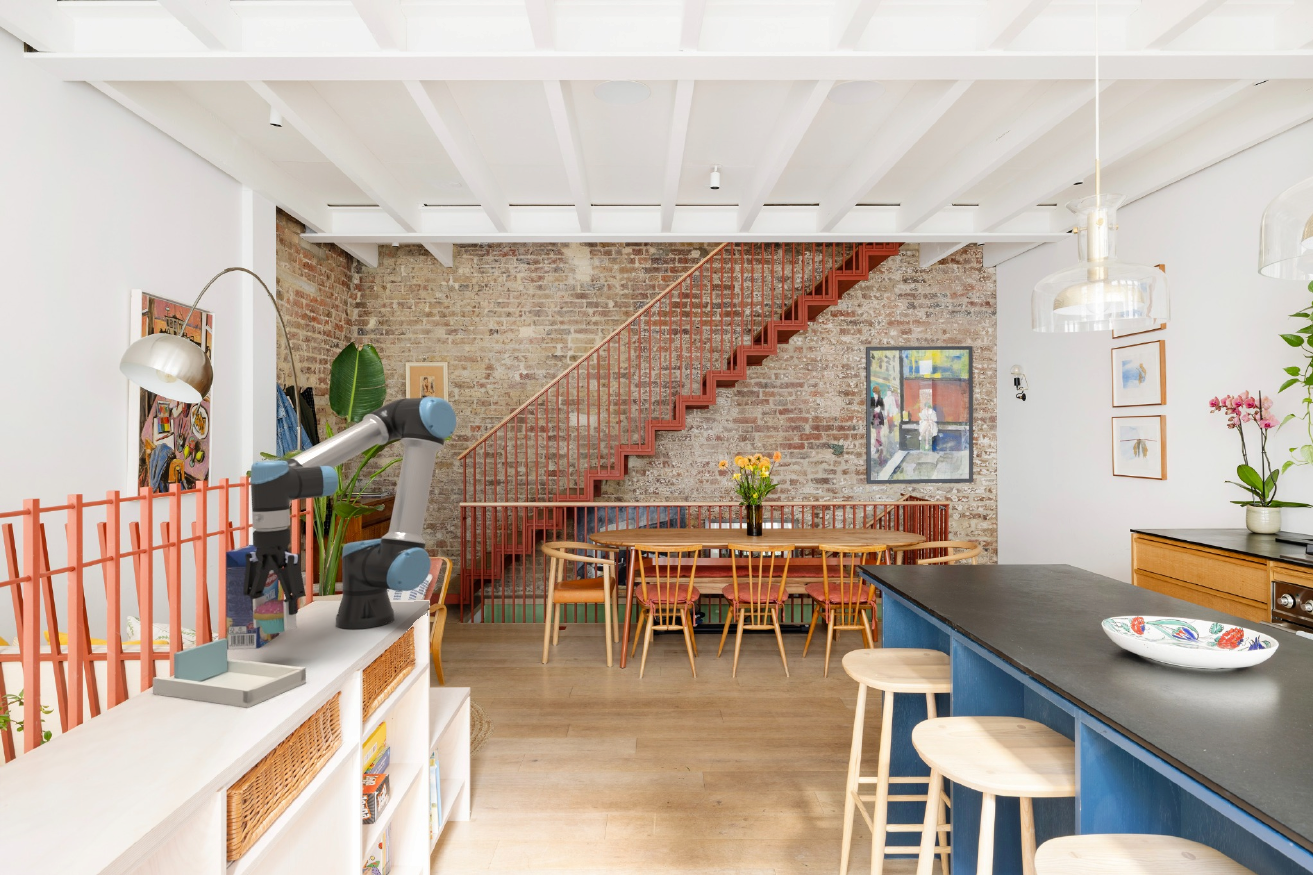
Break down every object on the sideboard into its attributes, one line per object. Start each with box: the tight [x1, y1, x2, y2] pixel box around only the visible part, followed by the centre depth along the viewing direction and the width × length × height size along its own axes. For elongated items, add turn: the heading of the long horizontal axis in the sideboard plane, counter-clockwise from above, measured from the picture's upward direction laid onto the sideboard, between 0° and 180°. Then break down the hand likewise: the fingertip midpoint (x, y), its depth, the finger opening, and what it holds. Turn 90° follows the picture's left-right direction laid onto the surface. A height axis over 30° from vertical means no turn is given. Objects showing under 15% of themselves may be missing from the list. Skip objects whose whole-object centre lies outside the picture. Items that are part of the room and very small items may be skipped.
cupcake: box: [253, 583, 286, 634], centre depth 157 cm, size 9×8×12 cm
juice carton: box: [225, 544, 280, 651], centre depth 175 cm, size 12×8×24 cm, turn 7°
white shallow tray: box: [152, 658, 307, 708], centre depth 142 cm, size 14×25×3 cm, turn 72°
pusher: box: [173, 637, 228, 681], centre depth 145 cm, size 11×5×7 cm, turn 162°
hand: (275, 627), depth 157 cm, fingers closed on cupcake, 8 cm apart
